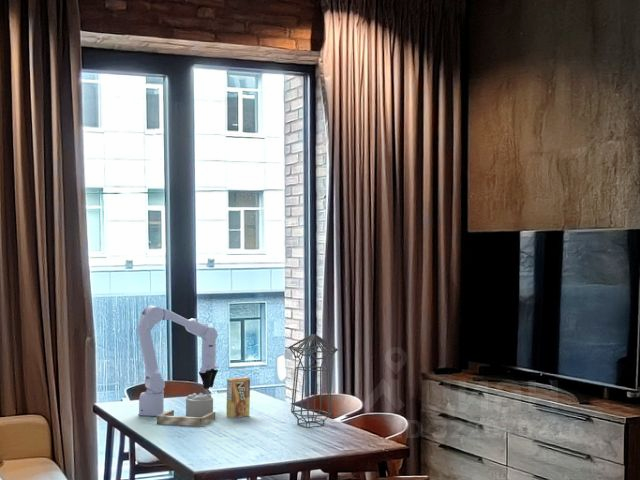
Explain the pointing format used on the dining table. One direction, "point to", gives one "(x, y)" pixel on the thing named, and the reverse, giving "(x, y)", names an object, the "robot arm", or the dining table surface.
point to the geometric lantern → (318, 342)
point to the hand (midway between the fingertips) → (208, 387)
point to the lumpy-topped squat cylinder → (199, 405)
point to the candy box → (238, 397)
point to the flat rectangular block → (184, 419)
